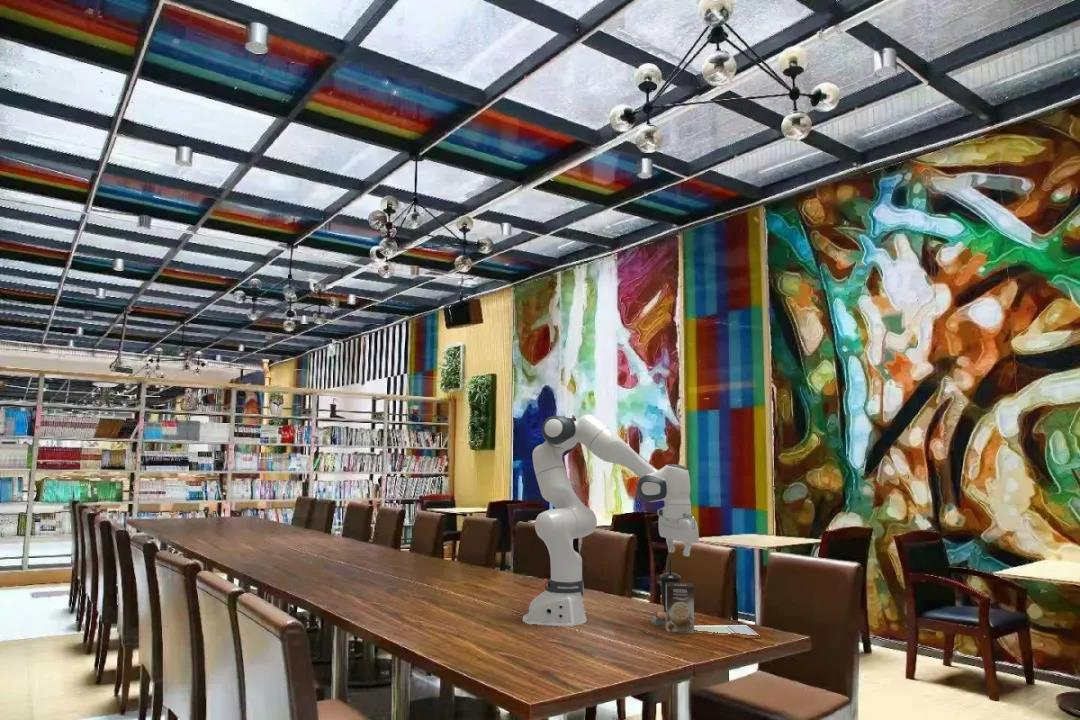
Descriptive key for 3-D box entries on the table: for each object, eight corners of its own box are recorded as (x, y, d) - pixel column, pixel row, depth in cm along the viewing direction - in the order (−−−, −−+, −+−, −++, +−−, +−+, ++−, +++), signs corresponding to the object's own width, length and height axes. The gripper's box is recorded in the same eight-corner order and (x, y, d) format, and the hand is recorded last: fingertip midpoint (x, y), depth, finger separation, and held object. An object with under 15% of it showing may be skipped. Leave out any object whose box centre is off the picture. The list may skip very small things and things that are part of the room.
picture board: (700, 639, 238) (700, 637, 238) (688, 627, 253) (688, 625, 253) (761, 638, 239) (761, 636, 239) (746, 626, 254) (746, 624, 254)
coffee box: (666, 635, 242) (665, 585, 244) (665, 630, 249) (664, 581, 250) (694, 636, 242) (694, 586, 243) (692, 631, 248) (691, 582, 249)
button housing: (654, 627, 252) (654, 619, 252) (651, 623, 258) (651, 615, 258) (672, 627, 252) (672, 619, 252) (668, 623, 258) (668, 615, 258)
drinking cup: (683, 612, 274) (682, 557, 276) (678, 617, 267) (677, 560, 269) (663, 610, 277) (662, 556, 279) (658, 614, 270) (657, 559, 272)
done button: (658, 620, 254) (658, 613, 254) (656, 618, 257) (656, 611, 257) (666, 620, 254) (666, 613, 254) (665, 618, 257) (664, 611, 257)
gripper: (702, 514, 241) (704, 557, 239) (670, 509, 260) (671, 549, 258) (686, 515, 238) (687, 559, 237) (654, 510, 257) (655, 550, 256)
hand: (678, 554), depth 248 cm, fingers open, 8 cm apart
